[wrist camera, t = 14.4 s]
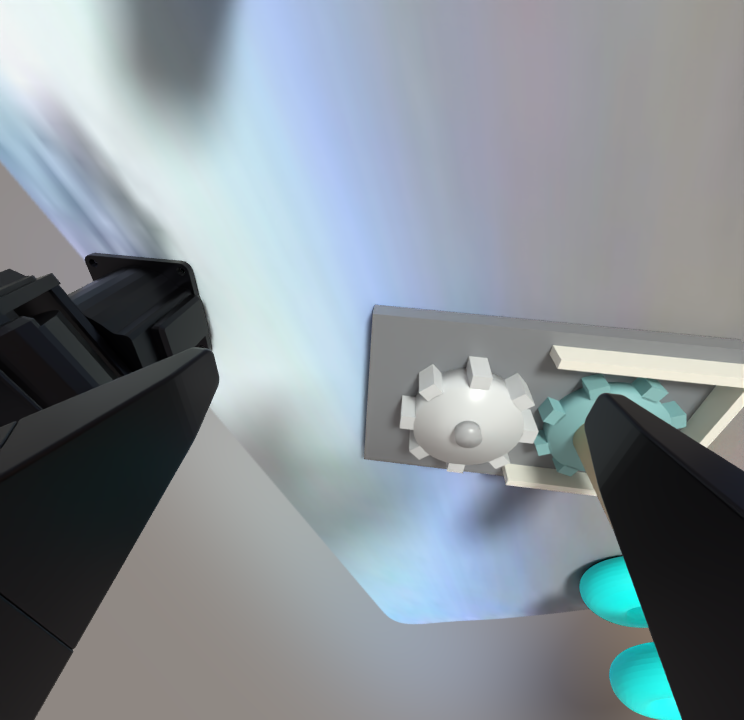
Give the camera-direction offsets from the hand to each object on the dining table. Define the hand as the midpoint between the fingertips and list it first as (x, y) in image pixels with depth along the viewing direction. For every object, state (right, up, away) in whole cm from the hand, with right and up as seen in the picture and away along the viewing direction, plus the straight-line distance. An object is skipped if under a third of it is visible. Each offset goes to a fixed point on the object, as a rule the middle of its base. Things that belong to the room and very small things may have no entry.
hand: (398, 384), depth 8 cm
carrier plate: (+10, -2, +16) cm, 19 cm away
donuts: (+26, -21, +28) cm, 43 cm away
